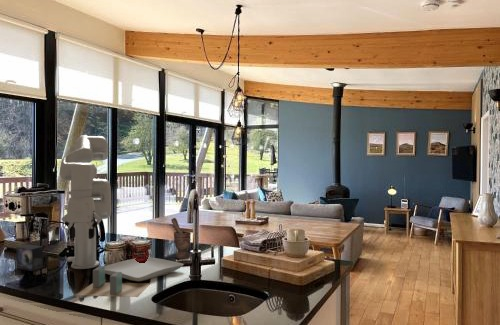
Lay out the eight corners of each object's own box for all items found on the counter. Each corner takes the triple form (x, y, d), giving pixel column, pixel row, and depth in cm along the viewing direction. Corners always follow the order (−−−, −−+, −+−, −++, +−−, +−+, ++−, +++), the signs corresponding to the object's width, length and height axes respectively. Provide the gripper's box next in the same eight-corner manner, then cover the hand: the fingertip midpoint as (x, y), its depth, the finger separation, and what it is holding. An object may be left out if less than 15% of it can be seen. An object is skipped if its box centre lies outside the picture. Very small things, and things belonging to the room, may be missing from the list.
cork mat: (75, 296, 156) (75, 295, 156) (93, 283, 172) (93, 282, 172) (137, 298, 154) (137, 296, 154) (150, 284, 170) (150, 283, 170)
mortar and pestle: (165, 258, 214) (165, 219, 214) (173, 254, 222) (173, 217, 222) (186, 259, 211) (186, 220, 210) (193, 255, 219) (193, 218, 219)
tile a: (92, 287, 165) (92, 270, 164) (99, 283, 171) (99, 266, 170) (98, 288, 164) (98, 270, 164) (105, 283, 170) (104, 266, 170)
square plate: (185, 271, 190) (185, 262, 190) (138, 286, 167) (137, 277, 167) (144, 262, 205) (144, 254, 205) (96, 275, 183) (96, 267, 182)
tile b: (110, 294, 156) (109, 276, 156) (116, 289, 162) (116, 271, 162) (116, 294, 156) (116, 276, 156) (122, 289, 162) (122, 271, 162)
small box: (15, 269, 194) (15, 246, 194) (27, 265, 200) (27, 244, 200) (32, 271, 190) (31, 248, 190) (43, 268, 196) (43, 245, 196)
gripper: (55, 194, 164) (56, 239, 164) (98, 195, 163) (98, 240, 163) (65, 193, 172) (65, 236, 172) (106, 193, 170) (106, 236, 171)
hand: (81, 237), depth 168 cm, fingers open, 7 cm apart
